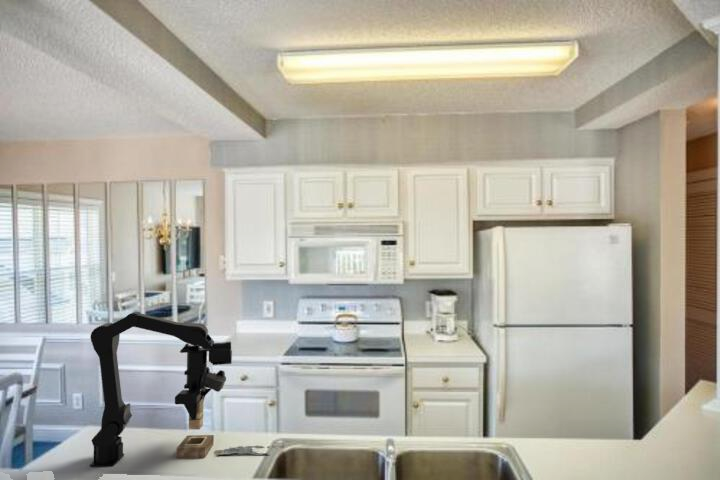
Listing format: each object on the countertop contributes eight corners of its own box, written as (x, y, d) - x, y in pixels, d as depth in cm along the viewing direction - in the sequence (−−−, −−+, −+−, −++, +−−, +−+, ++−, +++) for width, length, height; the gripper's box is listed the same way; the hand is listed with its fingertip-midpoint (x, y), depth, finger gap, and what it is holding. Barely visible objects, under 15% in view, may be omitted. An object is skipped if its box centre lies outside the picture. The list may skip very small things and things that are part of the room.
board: (176, 458, 122) (176, 447, 122) (187, 445, 130) (187, 435, 130) (205, 457, 122) (205, 446, 122) (213, 444, 130) (213, 434, 130)
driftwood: (211, 459, 122) (211, 452, 122) (218, 448, 129) (218, 441, 129) (281, 459, 123) (281, 452, 123) (284, 448, 130) (284, 441, 130)
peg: (188, 429, 124) (188, 399, 125) (192, 425, 128) (192, 395, 128) (199, 429, 125) (200, 399, 125) (203, 424, 128) (203, 395, 128)
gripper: (214, 374, 118) (213, 430, 117) (231, 357, 136) (230, 405, 136) (174, 374, 117) (173, 430, 117) (197, 358, 136) (196, 406, 135)
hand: (196, 417), depth 126 cm, fingers closed on peg, 3 cm apart
